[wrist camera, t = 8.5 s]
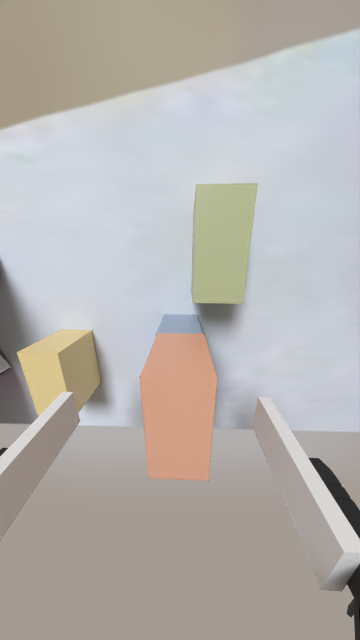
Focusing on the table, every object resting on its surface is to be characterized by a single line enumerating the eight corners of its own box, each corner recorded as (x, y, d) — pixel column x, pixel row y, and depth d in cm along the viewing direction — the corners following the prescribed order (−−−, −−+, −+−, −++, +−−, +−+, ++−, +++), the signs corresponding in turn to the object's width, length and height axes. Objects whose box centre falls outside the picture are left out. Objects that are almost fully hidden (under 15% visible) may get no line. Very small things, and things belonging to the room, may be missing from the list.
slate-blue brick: (195, 372, 23) (198, 408, 17) (165, 371, 23) (159, 407, 17) (197, 315, 20) (202, 334, 14) (164, 314, 20) (156, 334, 14)
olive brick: (226, 292, 19) (242, 303, 13) (191, 291, 19) (192, 302, 14) (233, 211, 17) (257, 183, 11) (193, 211, 17) (196, 184, 11)
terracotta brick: (200, 407, 17) (208, 480, 11) (160, 406, 17) (148, 478, 11) (204, 333, 14) (217, 378, 9) (157, 332, 14) (139, 377, 9)
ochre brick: (101, 382, 24) (73, 418, 18) (73, 381, 24) (38, 417, 18) (92, 329, 21) (57, 353, 16) (61, 329, 22) (16, 352, 16)
